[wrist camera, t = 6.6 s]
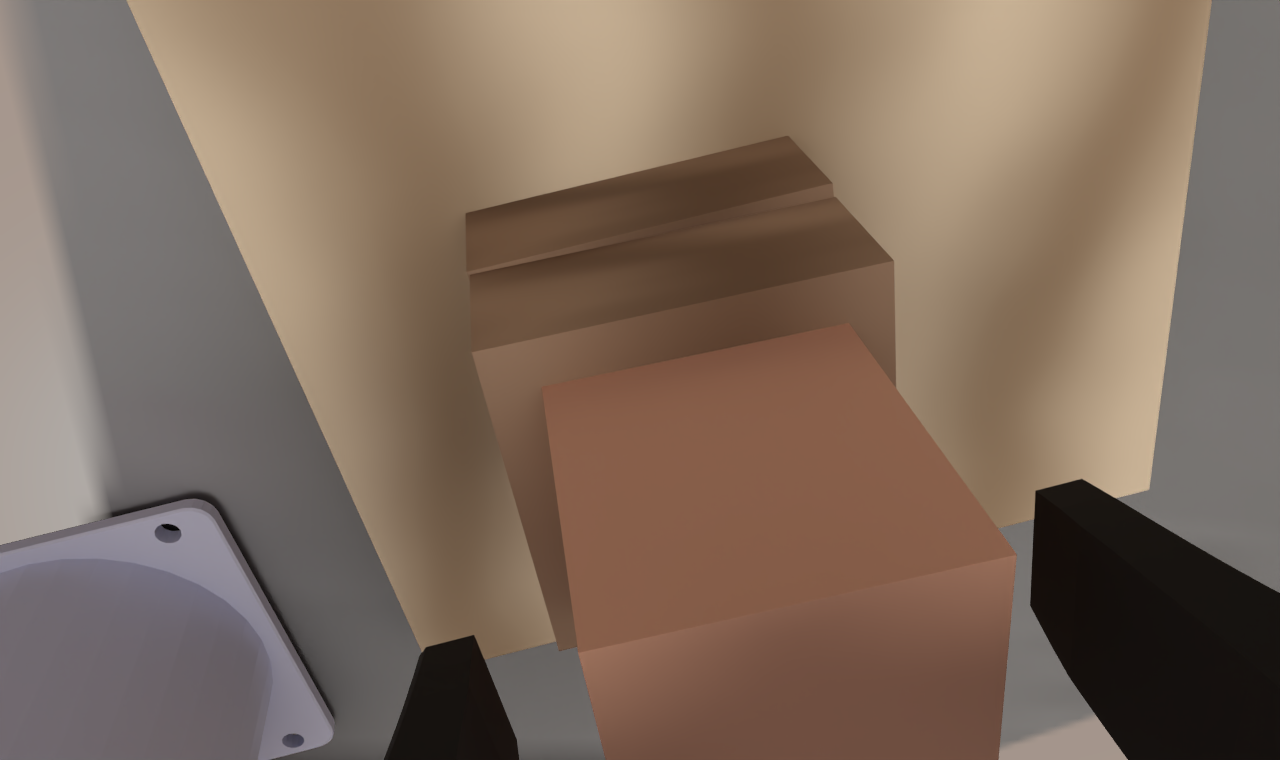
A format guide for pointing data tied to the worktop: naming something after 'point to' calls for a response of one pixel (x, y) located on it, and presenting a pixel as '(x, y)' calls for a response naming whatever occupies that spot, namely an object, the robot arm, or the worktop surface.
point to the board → (676, 131)
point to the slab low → (644, 204)
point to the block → (776, 561)
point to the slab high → (659, 329)
